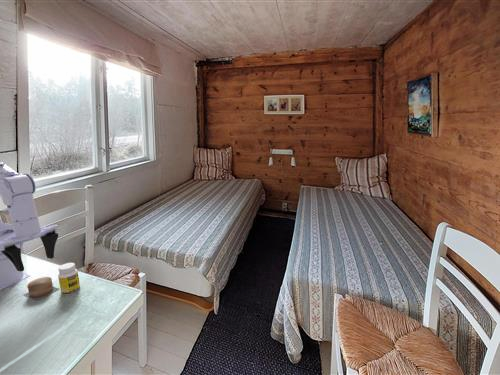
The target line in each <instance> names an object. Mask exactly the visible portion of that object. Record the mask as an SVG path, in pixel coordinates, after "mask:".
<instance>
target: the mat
mask: <svg viewBox="0 0 500 375" xmlns="http://www.w3.org/2000/svg"><path fill="white" fill-rule="evenodd" d="M57 291H60V287H59V288H58V287H55V286H53V291H52V292H50V293H49V294H47V295H45V296H42V297H38V298H31V297H30V296H29V292H27V293H24V294H23V296H24V297H26V298H29V299H32V300H34V301H36V302H39V301H41V300H42V299H44V298H47V297H49V296H50V295H52V294H55V292H57Z"/></svg>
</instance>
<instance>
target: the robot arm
mask: <svg viewBox="0 0 500 375" xmlns="http://www.w3.org/2000/svg"><path fill="white" fill-rule="evenodd" d="M36 187H37V186H36V182H35V179H34V178H33V177H32V176H31V175H30V174H29V173H18V172H17V171H16V170H14V169H13V168H11V167H9V166H8V164H5V163H3V161H1V162H0V197H1V199H2V203H3V204H4V206H7V212H8V215H9V218H10V223H11V224H9V223H5V222H3V221H2V218H0V290H3V289H4V288H8V287H9V286H12V285H14V284H16V283H18V282H21V281H22V280H26V279H27V278H29V277H31V275H30V274H27V273H24V271H25V266H24V263H23V260H22V248H23V247H24V244H25V243H26V242H29V241H32V240H35V239H38V238H40V241H41V242H42V244H43V245H42V246H43V247H44V251H45V256H46V258H47V259H51V260H52V259H54V258H55V250H56V249H55V248H56V243H57V240H58V238H59V233H58V232H60V228H59V225H58V224H52V225H49V226H44V227H41V224H40V219H39V216H38V215H39V214H38V212H37V207H36V203H35V199H34V195H33V194H34V193H36Z"/></svg>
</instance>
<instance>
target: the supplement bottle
mask: <svg viewBox="0 0 500 375" xmlns="http://www.w3.org/2000/svg"><path fill="white" fill-rule="evenodd" d="M57 277H58V282H59V283H58V284H59V290H60V293H61V295H63V296H68V295H72V294H75V293H76V292H79V291H80V289H81V284H80V279H79V278H80V277H79V272H78V269H77V267H76V263H74V262H66V263H64V264H61V265H59V266H58V275H57Z"/></svg>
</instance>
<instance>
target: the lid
mask: <svg viewBox="0 0 500 375" xmlns="http://www.w3.org/2000/svg"><path fill="white" fill-rule="evenodd" d="M26 286H27V291H28V292H29V296H30V297H31V298H38V297H42V296H45V295H47V294H49V293H50V292H52V291H53V287H54V285H53V280H52V277H50V276H44V277H43V276H42V277H38V278H36V279H34V280H31V281H29V283H27V285H26ZM28 292H27V293H28ZM31 298H30V299H31Z"/></svg>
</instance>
